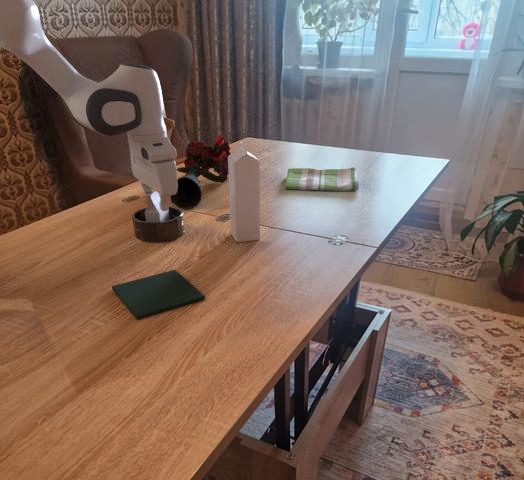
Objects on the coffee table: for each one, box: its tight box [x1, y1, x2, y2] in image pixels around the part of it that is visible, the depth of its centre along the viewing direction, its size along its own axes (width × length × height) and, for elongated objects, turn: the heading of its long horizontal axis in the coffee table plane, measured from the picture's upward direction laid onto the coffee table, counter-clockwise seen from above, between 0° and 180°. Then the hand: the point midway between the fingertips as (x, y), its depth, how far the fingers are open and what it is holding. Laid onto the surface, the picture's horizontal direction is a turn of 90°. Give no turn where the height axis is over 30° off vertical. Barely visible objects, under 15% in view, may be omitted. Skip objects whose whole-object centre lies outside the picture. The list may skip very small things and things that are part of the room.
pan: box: [131, 205, 185, 244], centre depth 121 cm, size 12×12×5 cm
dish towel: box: [284, 166, 360, 191], centre depth 156 cm, size 17×23×4 cm
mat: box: [111, 269, 206, 320], centre depth 96 cm, size 14×14×1 cm
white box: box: [145, 190, 170, 222], centre depth 119 cm, size 4×7×10 cm, turn 171°
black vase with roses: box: [169, 135, 232, 211], centre depth 148 cm, size 16×18×35 cm
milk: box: [228, 140, 261, 243], centre depth 114 cm, size 6×6×22 cm
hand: (156, 204), depth 118 cm, fingers open, 8 cm apart
